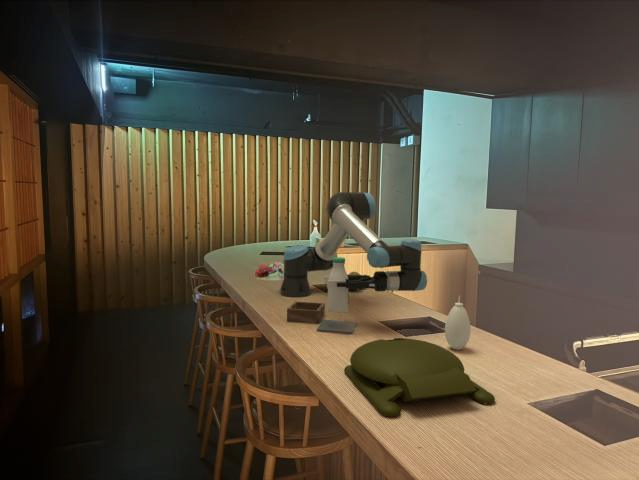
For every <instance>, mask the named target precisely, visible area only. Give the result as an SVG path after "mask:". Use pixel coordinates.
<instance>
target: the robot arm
mask: <svg viewBox="0 0 639 480" xmlns="http://www.w3.org/2000/svg"><path fill="white" fill-rule="evenodd" d="M376 207H377V204H376V201H375V198H374V196H373V195H372V194H371V193H369V192H364V191H359V192H358V191H356V192H353V191H352V192H351V191H350V192H346V191H341V192H337V193H334V194H333V195H331V197H330V198H329V199H328V201H327V203H326V214H327V216H328V218H329V219H330V220H331V222H333V225H332V226H331V228H330V229H329V230H328V232H327V233H326V235H324V237H323V239H322V240H320V241H318V242H317V243H316V244H315V245H314V247H309V246H307V245H293V246H289V247H287V248H286V249H285V250H284V254H283V261H284V279H283V280H282V282H281V286H280V289H279V293H280V295H281V296H283V297H284V296H285V297H289V298H300V297H301V298H302V297H308V296H310V295H311V294H312V293H311V292H312V288H311V286H310V282H309V279H308V274H309V273H310V272H320V271H321V272H322V271H324V272H326V271H329V270H332V268H333V258H334V257H338V252H337V251H338V250H339V249H340V247H341V246H342V245H343V243H344V242H345V240H346V239H347V238H348V237H351V238H352V239H353V241H354V242H355V243H356V244H357V245H358V246H360V248H361V249H362V251H364V252H365V253H366V259H367V262H368V265H370V267H372V268H375V269H376V268H378V269H379V268H380V269H383V268H389V267H390V268H391V267H400V270H387V271H385V270H384V271H382V270H381V271H380V270H379V271H374V273H373V276H370V275H367V274H360V275H348V274H347V275H348V279H346V282H345V280H329V276H330V275H324V276H323V284H326V288H327V289H328V288H345V287H346V288H349V290H351V289H357V290H359V289H361V290H362V289H366V290H367V289H373V290H374V291H375V292H385V291H386V292H390V293H394V292H408V291H409V292H412V291H413V292H414V291H415V292H417V291H424V290H425V289H426V288H427V284H428V279H427V278H428V277H427V276H428V275H427V274H426V272H425V271H424V270H422V269H421V266H422V265H421V264H422V253H423V252H422V242H421V241H420V240H419V239H413V238H411V239H410V238H409V239H408V238H407V239H406V238H405V239H402V240H401V242H400V244H399V245H388V244H387V243H386V242H385V241H383V240H382V239H381V238H380V237H379V235H377V234H376V233H375V232H374V231H373V230H372V229H371V228H370V227H369V225H367V224H366V223H365V220H370V219H373V218H374V217H375V214H376V211H377V208H376ZM348 280H349V281H348Z"/></svg>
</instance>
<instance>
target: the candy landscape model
mask: <svg viewBox="0 0 639 480" xmlns="http://www.w3.org/2000/svg"><path fill="white" fill-rule="evenodd" d="M253 278H254V280H257V281H267V282H268V281H269V282H270V281H271V282H273V281H275V282H276V281H278V280H279V281H283V279H284V260H283V261H282V262H281V261H280V262H279V261H274V262H272V261H269V262H267V265H264V264H260V265H259V266H258V269H256V271H255V273H254V276H253ZM279 281H278V282H279Z"/></svg>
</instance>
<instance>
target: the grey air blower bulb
mask: <svg viewBox="0 0 639 480" xmlns="http://www.w3.org/2000/svg"><path fill="white" fill-rule="evenodd" d="M444 335H445V336H444V337H445V340H446V342H447V344H448V345H449V346H450V347H451V348H452V349H453V350H455V349H456V351H458V350H462V349H463V348H465V347H466V346H467V344H468V343H469V340H470V337H471V322H470V317H469V315H468V312H467V310H466V308H465V307H464V304H463V303H462V302H461V296H460V295H458V301H457V302H455V303H454V306H453V307H452V308H451V309H450V311H449V313H448V314H447V318H446V320H445V325H444Z"/></svg>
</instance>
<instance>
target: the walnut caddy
mask: <svg viewBox="0 0 639 480" xmlns="http://www.w3.org/2000/svg"><path fill="white" fill-rule="evenodd" d="M325 308H326V307H325V303H324V302H323V303H322V302H311V301H310V302H307V301H296V300H295V301H294V302H292V304H290V305H289V307H287V308H286V322H288V323H290V322H291V323H301V324H312V325H313V324H314V325H315V324H316V325H320V323H321V322H322V321H323V318H324V317H325V313H326V312H325Z"/></svg>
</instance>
